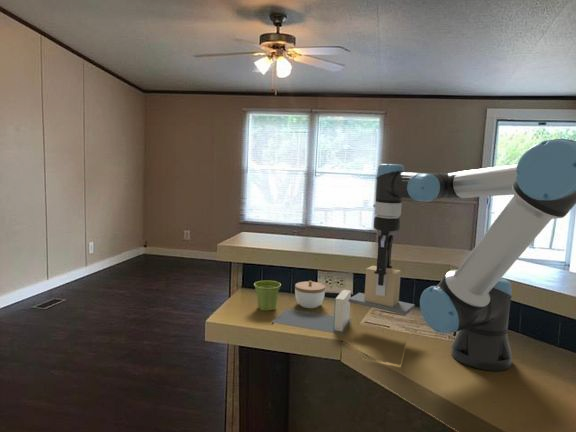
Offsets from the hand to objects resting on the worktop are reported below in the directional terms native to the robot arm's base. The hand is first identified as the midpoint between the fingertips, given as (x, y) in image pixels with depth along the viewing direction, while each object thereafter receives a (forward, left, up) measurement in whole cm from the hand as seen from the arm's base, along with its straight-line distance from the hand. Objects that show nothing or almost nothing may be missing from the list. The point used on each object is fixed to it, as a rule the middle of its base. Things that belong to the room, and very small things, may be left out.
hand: (381, 291), depth 136 cm
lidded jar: (+27, -14, -13) cm, 33 cm away
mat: (+21, 0, -13) cm, 25 cm away
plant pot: (+40, -6, -13) cm, 42 cm away
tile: (+12, 0, -12) cm, 17 cm away
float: (0, 0, -4) cm, 4 cm away
